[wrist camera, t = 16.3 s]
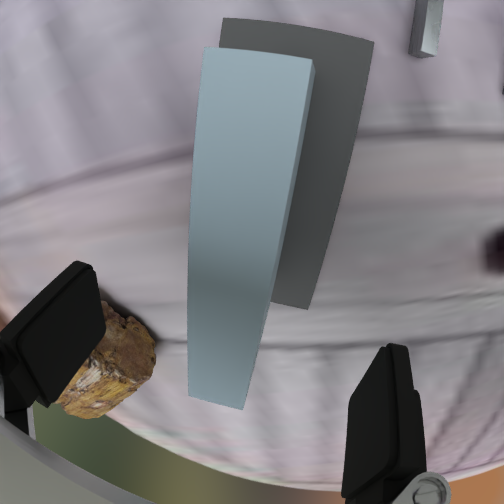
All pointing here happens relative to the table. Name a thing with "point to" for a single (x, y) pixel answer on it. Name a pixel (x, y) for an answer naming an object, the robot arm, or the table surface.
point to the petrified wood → (111, 368)
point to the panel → (240, 209)
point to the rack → (426, 28)
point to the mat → (312, 139)
